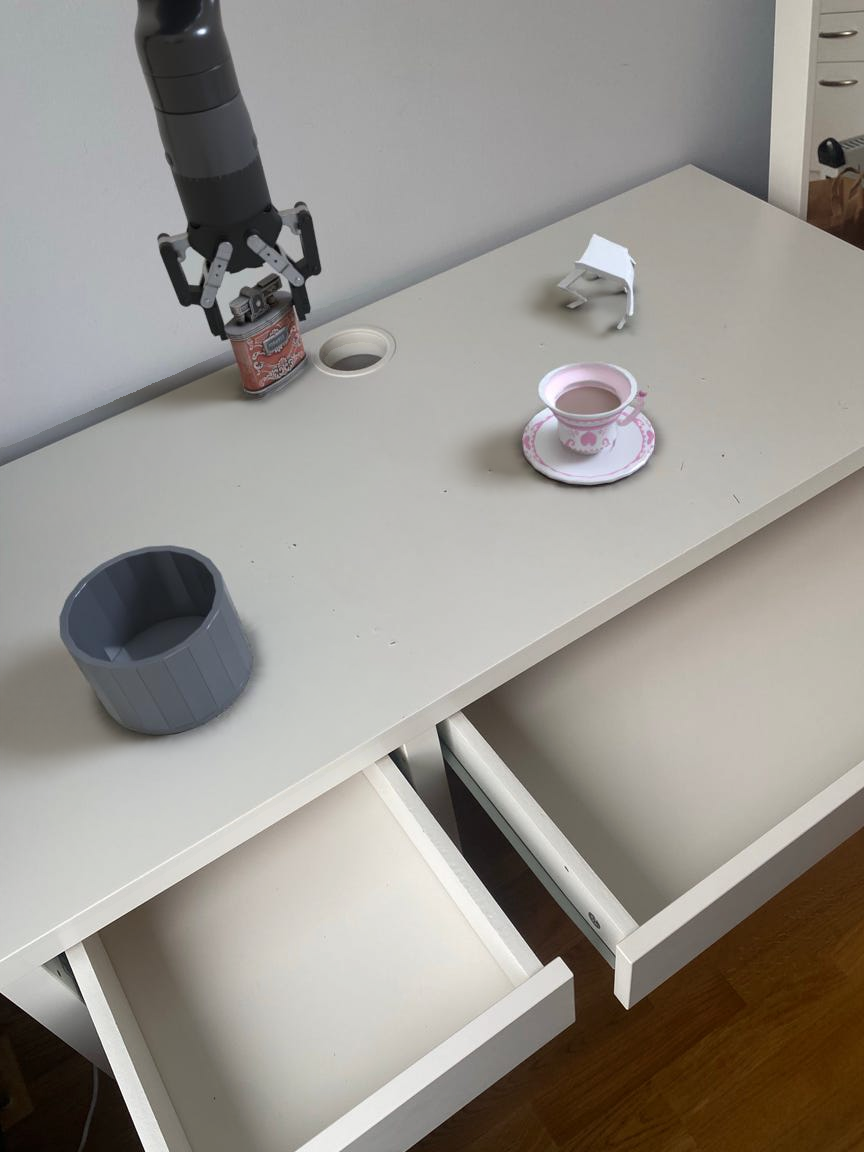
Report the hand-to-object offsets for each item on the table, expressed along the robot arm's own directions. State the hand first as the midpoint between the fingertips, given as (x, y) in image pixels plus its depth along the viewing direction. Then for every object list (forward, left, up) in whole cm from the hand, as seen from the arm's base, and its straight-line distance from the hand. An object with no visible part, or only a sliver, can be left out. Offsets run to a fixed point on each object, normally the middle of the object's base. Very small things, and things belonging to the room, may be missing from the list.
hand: (262, 326), depth 94 cm
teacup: (+25, -22, -6) cm, 34 cm away
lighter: (0, 0, -6) cm, 6 cm away
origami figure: (+35, -2, -6) cm, 36 cm away
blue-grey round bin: (-14, -35, -6) cm, 38 cm away
